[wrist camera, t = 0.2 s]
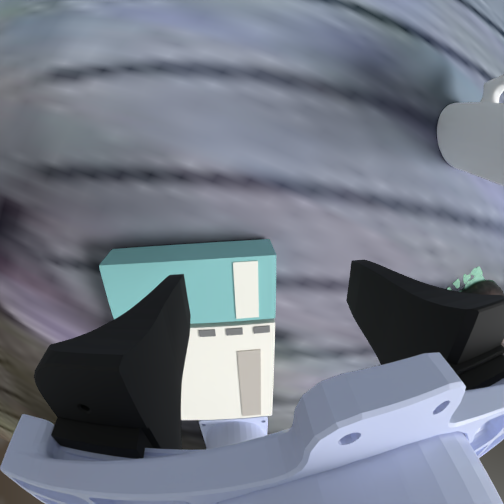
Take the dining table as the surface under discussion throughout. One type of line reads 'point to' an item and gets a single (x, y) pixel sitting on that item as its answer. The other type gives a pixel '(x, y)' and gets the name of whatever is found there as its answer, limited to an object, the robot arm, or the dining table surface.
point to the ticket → (229, 370)
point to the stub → (198, 278)
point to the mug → (475, 134)
